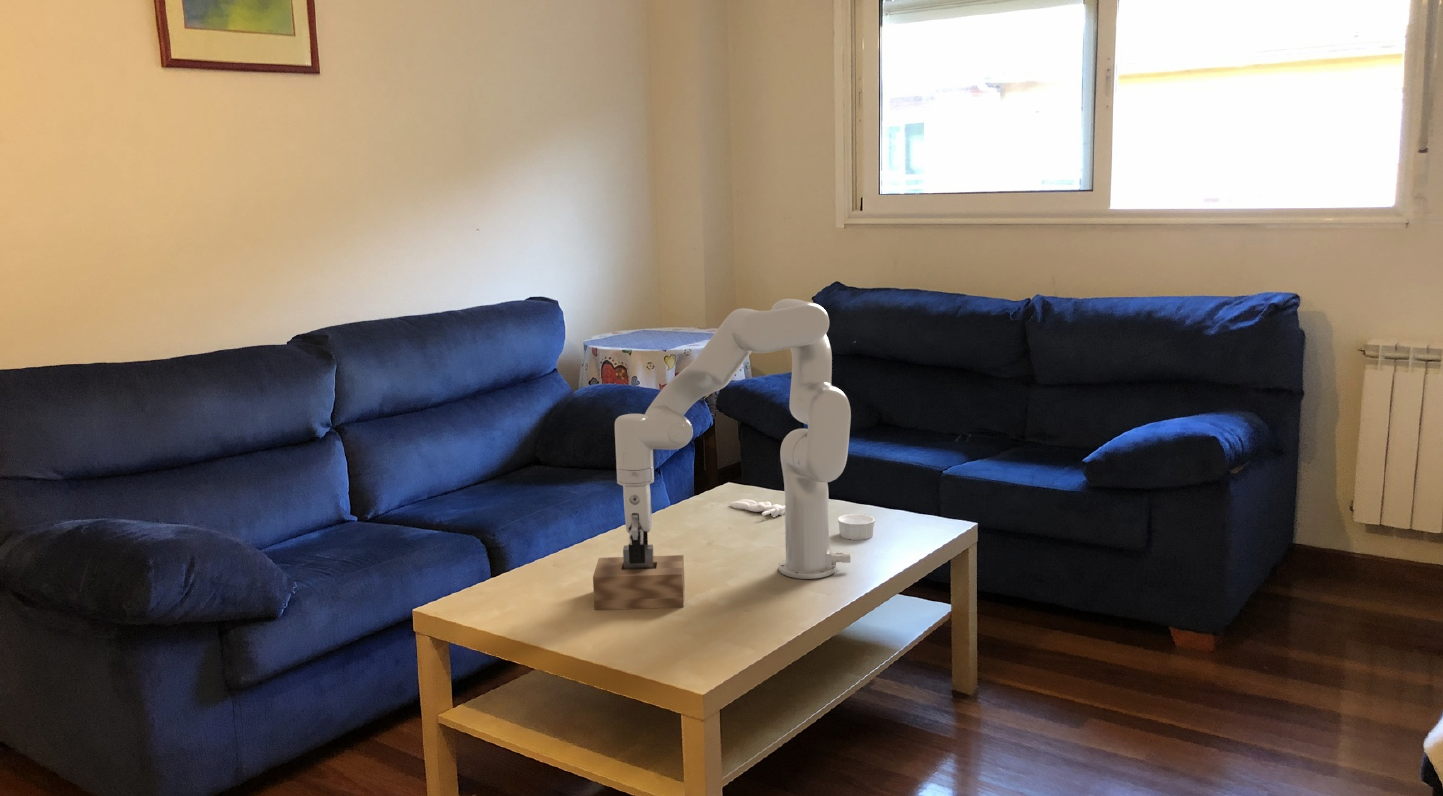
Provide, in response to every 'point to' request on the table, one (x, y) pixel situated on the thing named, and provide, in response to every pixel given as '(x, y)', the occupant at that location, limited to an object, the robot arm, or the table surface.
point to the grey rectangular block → (647, 565)
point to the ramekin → (856, 526)
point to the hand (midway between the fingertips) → (638, 555)
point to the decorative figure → (758, 507)
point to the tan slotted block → (639, 584)
